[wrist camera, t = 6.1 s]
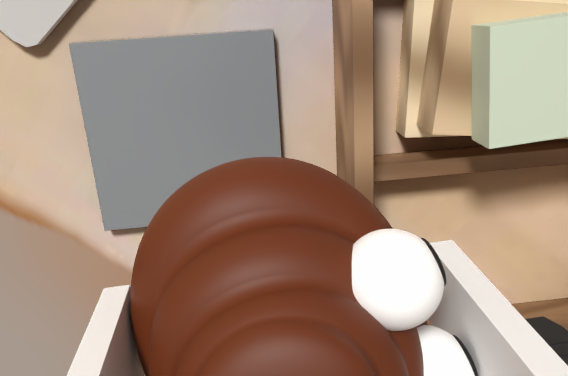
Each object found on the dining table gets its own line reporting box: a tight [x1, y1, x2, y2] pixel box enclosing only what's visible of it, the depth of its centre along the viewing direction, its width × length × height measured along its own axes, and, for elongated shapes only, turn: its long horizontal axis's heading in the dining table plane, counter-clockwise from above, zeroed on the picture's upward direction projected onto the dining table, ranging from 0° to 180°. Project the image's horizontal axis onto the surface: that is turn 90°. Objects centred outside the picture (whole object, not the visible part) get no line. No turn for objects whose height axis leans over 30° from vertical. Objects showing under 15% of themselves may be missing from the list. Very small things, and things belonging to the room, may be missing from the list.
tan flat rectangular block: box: [396, 0, 568, 138], centre depth 32 cm, size 8×14×2 cm, turn 90°
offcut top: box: [471, 12, 568, 149], centre depth 27 cm, size 6×9×2 cm, turn 97°
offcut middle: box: [417, 0, 568, 139], centre depth 29 cm, size 7×12×2 cm, turn 86°
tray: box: [332, 0, 568, 331], centre depth 32 cm, size 25×22×5 cm
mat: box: [69, 29, 281, 231], centre depth 31 cm, size 11×11×1 cm
